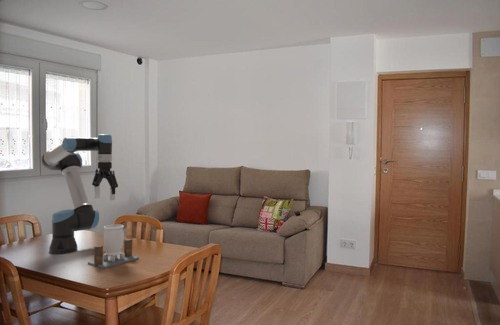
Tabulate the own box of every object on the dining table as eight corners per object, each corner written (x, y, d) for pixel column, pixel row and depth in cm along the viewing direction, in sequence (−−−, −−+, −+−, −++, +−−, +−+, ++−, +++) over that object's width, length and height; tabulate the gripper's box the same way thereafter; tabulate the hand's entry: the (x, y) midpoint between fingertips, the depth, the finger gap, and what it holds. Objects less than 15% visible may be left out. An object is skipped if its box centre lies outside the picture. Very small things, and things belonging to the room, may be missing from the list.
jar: (117, 257, 215) (117, 228, 215) (99, 255, 217) (99, 227, 217) (127, 252, 226) (127, 224, 225) (110, 251, 228) (110, 223, 227)
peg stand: (87, 264, 216) (87, 256, 216) (122, 255, 235) (121, 248, 234) (104, 268, 209) (104, 260, 208) (138, 258, 227) (138, 251, 227)
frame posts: (94, 265, 213) (94, 246, 213) (128, 256, 232) (128, 238, 231) (97, 266, 212) (97, 247, 211) (132, 257, 230) (132, 239, 229)
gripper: (85, 161, 239) (85, 197, 240) (113, 162, 225) (113, 201, 226) (96, 160, 246) (96, 196, 247) (124, 162, 232) (124, 200, 233)
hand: (104, 199), depth 237 cm, fingers open, 13 cm apart
